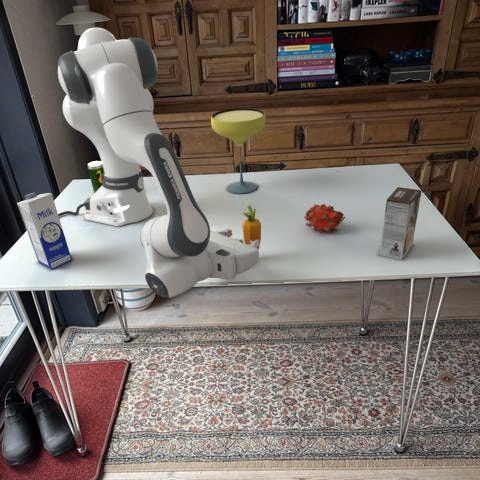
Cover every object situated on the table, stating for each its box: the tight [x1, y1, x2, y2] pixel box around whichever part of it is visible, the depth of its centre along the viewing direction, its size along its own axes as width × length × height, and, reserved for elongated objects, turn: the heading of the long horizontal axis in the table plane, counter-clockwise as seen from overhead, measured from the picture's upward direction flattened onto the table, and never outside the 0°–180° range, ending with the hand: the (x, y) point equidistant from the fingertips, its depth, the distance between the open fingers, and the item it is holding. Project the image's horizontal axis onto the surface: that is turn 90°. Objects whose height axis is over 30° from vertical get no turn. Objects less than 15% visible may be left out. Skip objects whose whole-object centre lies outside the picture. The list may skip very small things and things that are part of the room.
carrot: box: [241, 204, 262, 251], centre depth 126 cm, size 5×5×15 cm
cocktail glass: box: [210, 107, 267, 195], centre depth 164 cm, size 18×18×25 cm
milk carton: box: [16, 192, 73, 270], centre depth 130 cm, size 7×7×20 cm
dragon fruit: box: [304, 203, 346, 234], centre depth 140 cm, size 8×8×12 cm
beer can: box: [87, 160, 104, 194], centre depth 169 cm, size 5×5×12 cm
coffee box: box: [379, 186, 423, 261], centre depth 125 cm, size 9×6×16 cm
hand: (243, 236), depth 124 cm, fingers open, 8 cm apart
